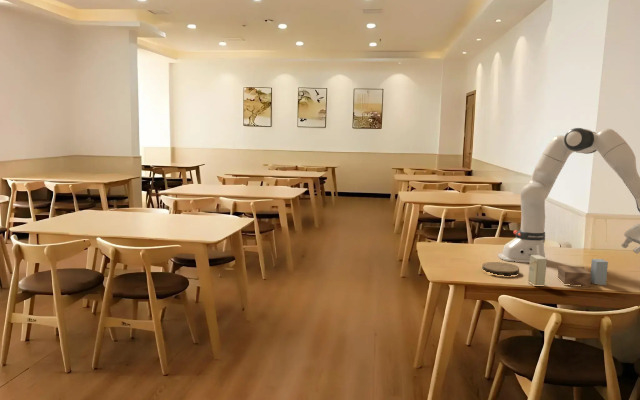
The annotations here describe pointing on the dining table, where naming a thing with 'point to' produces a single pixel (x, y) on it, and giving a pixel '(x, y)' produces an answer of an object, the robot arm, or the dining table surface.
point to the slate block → (599, 271)
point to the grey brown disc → (501, 268)
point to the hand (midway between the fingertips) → (628, 249)
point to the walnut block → (574, 275)
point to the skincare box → (537, 270)
